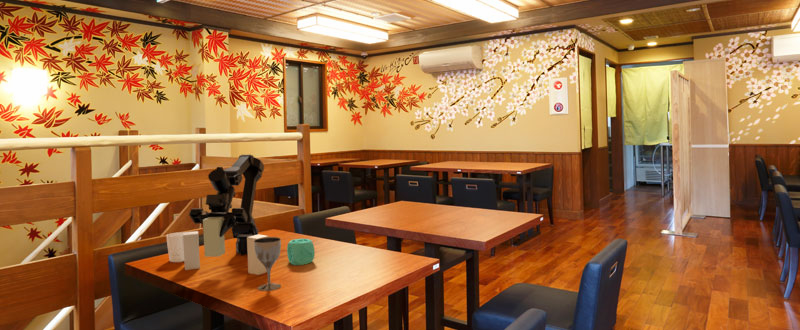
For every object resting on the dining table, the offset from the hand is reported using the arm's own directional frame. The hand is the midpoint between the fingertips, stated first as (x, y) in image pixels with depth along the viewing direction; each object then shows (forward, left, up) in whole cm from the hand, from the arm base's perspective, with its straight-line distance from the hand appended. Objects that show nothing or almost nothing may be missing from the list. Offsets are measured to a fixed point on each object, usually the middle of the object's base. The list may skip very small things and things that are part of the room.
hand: (212, 236), depth 168 cm
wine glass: (-9, +24, -14) cm, 29 cm away
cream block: (-13, +6, -13) cm, 20 cm away
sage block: (-1, -1, -7) cm, 7 cm away
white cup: (+4, -30, -14) cm, 33 cm away
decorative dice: (-30, +4, -14) cm, 34 cm away
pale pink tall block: (+3, -16, -13) cm, 21 cm away
